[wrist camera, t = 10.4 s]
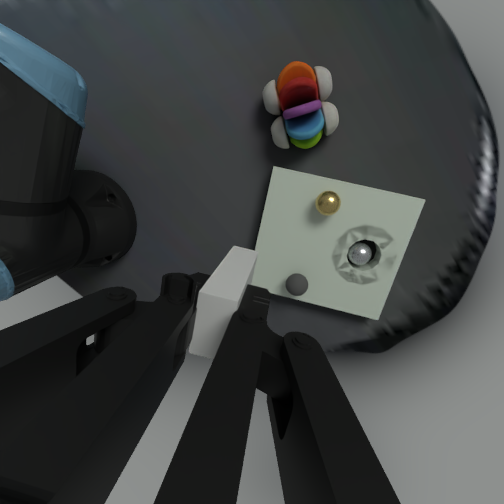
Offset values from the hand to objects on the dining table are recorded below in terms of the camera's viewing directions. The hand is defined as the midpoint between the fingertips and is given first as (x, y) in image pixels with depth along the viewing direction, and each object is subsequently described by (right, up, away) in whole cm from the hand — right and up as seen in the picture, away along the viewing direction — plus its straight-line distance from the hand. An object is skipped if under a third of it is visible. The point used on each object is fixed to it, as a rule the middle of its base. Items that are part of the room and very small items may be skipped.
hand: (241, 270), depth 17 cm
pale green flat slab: (+12, +2, +25) cm, 28 cm away
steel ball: (+16, +1, +24) cm, 28 cm away
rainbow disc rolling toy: (+7, +20, +21) cm, 30 cm away
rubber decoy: (+7, -4, +23) cm, 25 cm away
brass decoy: (+10, +7, +20) cm, 24 cm away
